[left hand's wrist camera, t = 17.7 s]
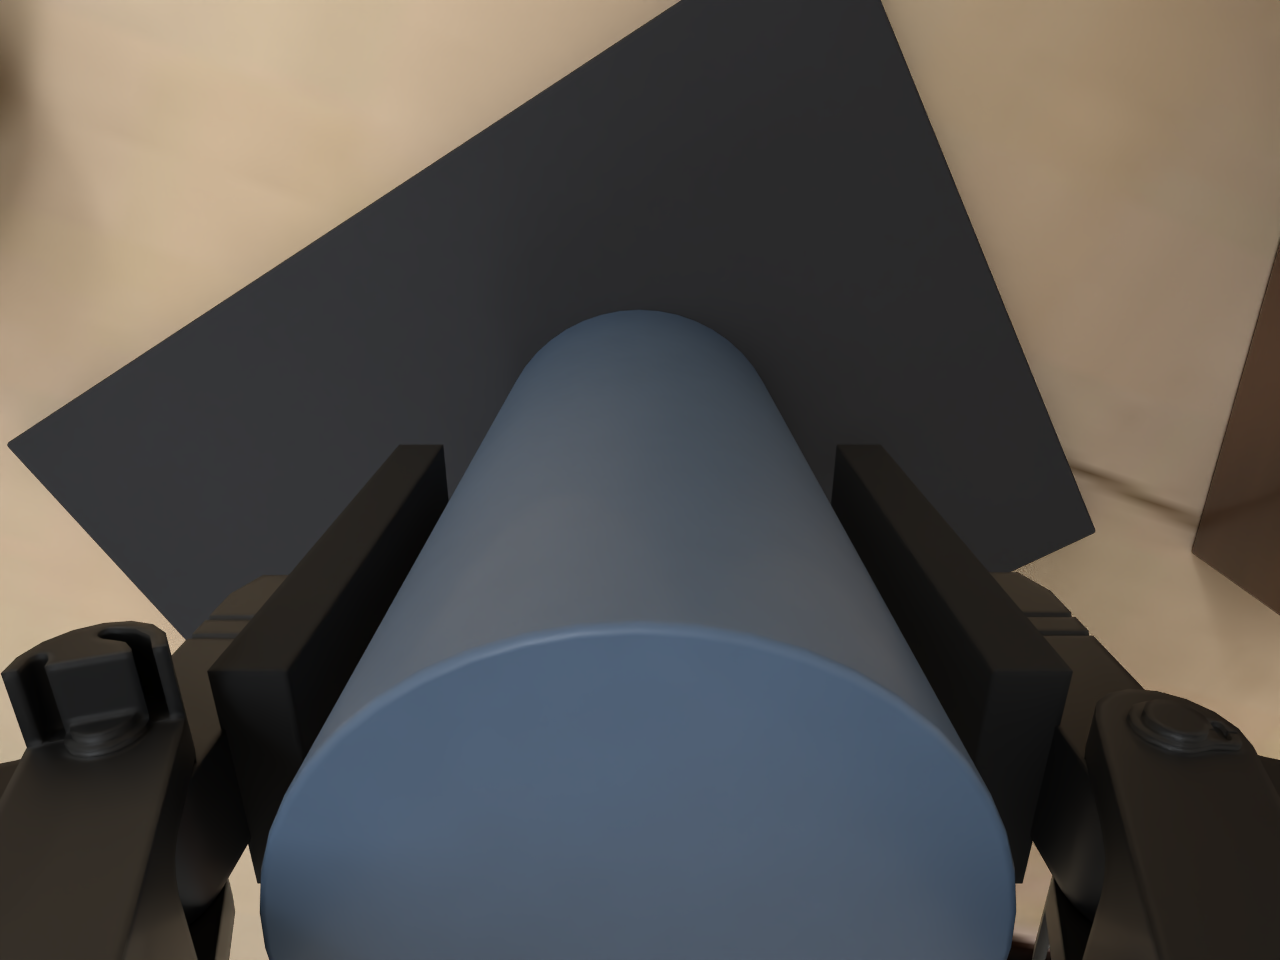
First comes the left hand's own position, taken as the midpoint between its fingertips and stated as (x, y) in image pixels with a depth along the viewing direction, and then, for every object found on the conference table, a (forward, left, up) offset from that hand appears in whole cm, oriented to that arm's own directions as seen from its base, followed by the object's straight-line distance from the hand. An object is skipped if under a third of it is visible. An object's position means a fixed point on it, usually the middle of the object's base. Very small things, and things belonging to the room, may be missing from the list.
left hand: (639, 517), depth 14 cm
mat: (-2, 0, -4) cm, 5 cm away
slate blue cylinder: (0, 0, -4) cm, 4 cm away
